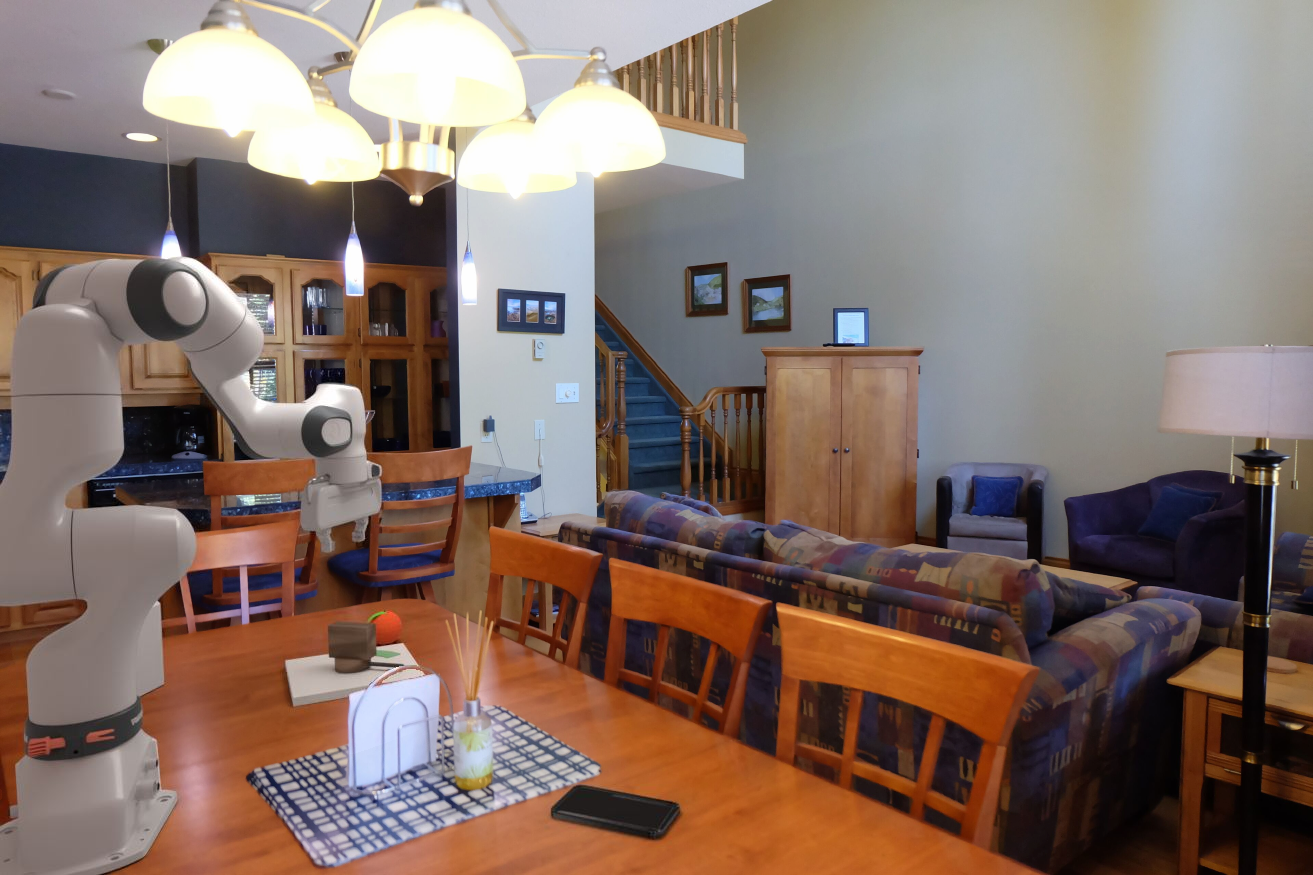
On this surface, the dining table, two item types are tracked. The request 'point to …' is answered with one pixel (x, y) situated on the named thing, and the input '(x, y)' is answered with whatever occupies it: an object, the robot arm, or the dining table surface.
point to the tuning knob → (353, 646)
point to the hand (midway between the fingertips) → (343, 546)
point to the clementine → (386, 627)
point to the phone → (616, 811)
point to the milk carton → (150, 653)
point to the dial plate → (342, 675)
